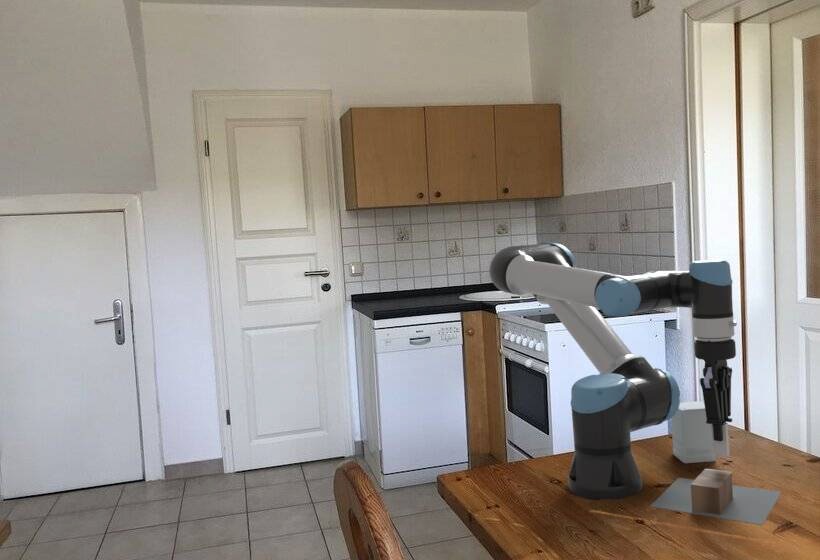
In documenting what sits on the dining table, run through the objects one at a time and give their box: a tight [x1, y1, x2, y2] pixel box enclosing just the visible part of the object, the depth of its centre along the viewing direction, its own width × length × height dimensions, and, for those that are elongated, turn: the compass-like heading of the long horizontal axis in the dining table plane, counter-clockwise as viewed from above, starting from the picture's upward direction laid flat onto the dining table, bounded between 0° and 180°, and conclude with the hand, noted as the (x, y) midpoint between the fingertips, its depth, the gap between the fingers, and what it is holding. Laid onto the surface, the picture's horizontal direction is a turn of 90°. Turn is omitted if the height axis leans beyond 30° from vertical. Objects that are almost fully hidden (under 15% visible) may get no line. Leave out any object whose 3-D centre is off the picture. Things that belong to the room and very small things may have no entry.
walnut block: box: [691, 468, 734, 515], centre depth 139 cm, size 5×5×10 cm
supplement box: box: [670, 400, 717, 464], centre depth 166 cm, size 7×7×13 cm
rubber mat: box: [649, 477, 783, 526], centre depth 141 cm, size 20×18×1 cm
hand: (721, 455), depth 143 cm, fingers closed
